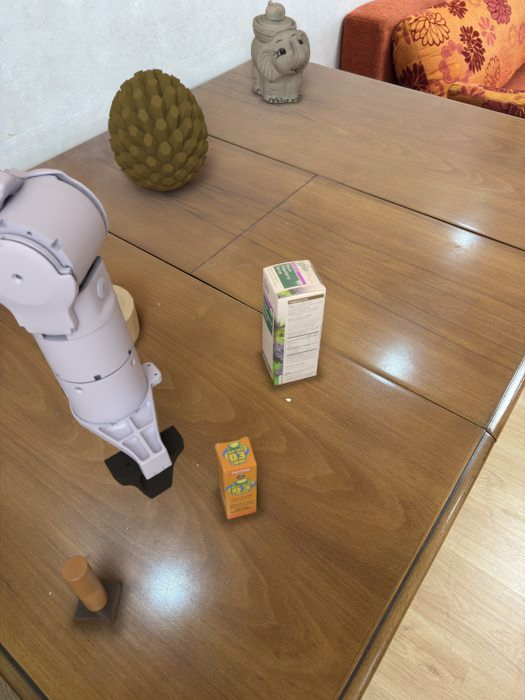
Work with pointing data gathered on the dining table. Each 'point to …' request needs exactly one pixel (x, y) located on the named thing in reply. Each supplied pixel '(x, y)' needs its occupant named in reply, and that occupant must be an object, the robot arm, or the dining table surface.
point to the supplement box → (237, 477)
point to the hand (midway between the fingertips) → (139, 458)
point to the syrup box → (292, 320)
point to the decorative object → (157, 131)
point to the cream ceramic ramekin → (128, 311)
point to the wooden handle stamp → (91, 593)
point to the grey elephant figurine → (278, 55)
